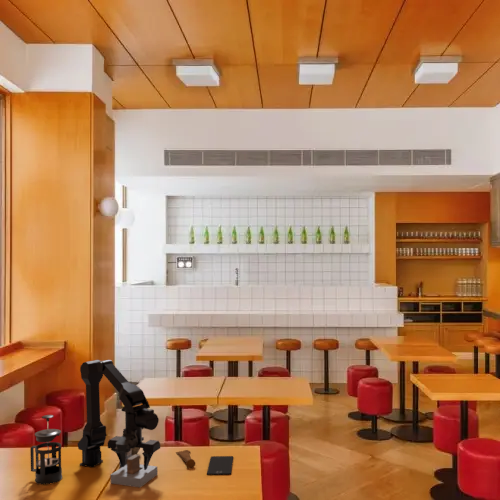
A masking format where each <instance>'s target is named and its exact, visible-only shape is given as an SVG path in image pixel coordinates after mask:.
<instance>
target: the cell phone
mask: <svg viewBox="0 0 500 500" xmlns="http://www.w3.org/2000/svg"><path fill="white" fill-rule="evenodd" d="M233 462H234V456H232V455H221V456H219V455H216V456H215V455H214V456H210V458H209V462H208V467H207V471H206V475H207V476H231V475H232V470H233V464H234V463H233ZM232 463H233V464H232Z"/></svg>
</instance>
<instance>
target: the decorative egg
mask: <svg viewBox="0 0 500 500" xmlns="http://www.w3.org/2000/svg"><path fill="white" fill-rule="evenodd" d="M140 450H141V448H138V447H135V448H134V449H133V448H131V455H132V456H133V455H138V453H139V452H140Z"/></svg>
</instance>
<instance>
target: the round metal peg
mask: <svg viewBox="0 0 500 500" xmlns="http://www.w3.org/2000/svg"><path fill="white" fill-rule="evenodd" d="M131 456H133V455H131V450H130V451H129V452H127V453H126V455H125V465H126V464H127V459H128V458H130V457H131ZM120 468H122V466H121V463H120V462H119V469H120Z"/></svg>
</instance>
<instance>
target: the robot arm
mask: <svg viewBox="0 0 500 500" xmlns="http://www.w3.org/2000/svg"><path fill="white" fill-rule="evenodd" d="M79 372H80V378H81V380H82V381H83V383H84V384H85V397H86V399H85V401H86V405H85V407H86V424H85V425H84V427H83V429H82V437H81V438H80V439H79V441H78V442H77V447H78V450H80V451H81V458H82V460H81V462H80V463H79V466H82V467H90V468H91V467H92V468H94V467H97V465H99V464H101V463H103V461H104V460H103V459H102V451H101V447H103V446H104V445H105V441H106V438H107V435H108V434H107V426H106V425H104V424H103V422H102V421H101V401H100V400H101V399H100V398H101V397H100V383H101V380H102V379H103V377H105V378H106V379H107V380H108V382H109V383H110V384H111V385H112V386H113V388H114V389H116V391H117V392H118V399H119V400H120V402H121V403H122V405H123V407H122V409H121V412H123V413H124V416H125V420H124V421H125V422H124V424H125V428H124V429H123V430H122V435H121V436H118V435H116V436H113V437H111V438H110V439H109V440H108V442H107V449H110V451H112V452H114V453H115V454H116V456H117V458H118V461H119V464H120V463H121V466H122V467H124V466H125V455H126V453H127V452H129V451H130V450H131V448H133V449H134V448H135V447H138V448H140V449H142V451H143V452H142V455H143V465H144V470H146V469H147V467H148V465H150V462H151V459H152V457H153V455H154V453H156V452H157V451H158V450H160V449H161V443H160V441H159V440H155V439H149V440H148V441H146V442H144V440H145V439H144V438H145V437H144V436H143V430H145V429H146V430H149V431H153V430H155V429H156V428H157V427H158V425H159V421H160V419H159V417H158V414H156V413H155V410H154V409H152V408H151V406H150V404H149V401H148V400H147V398H146V395H145V393H144V390H143V389H141V388H140V387H139V386H138V385H136V384H133V383H132V382H129V381H128V379H127V378H126V377H125V376H124V375H123V374H122V373H121V371H120V370H119V369H118V368H117V367H116V365H115V364H114V362H113V361H112V360H111V359H107V360H100V359H95V360H89V361H84V362H83V363H82V364H81V365H80V369H79ZM150 408H151V409H150Z"/></svg>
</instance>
